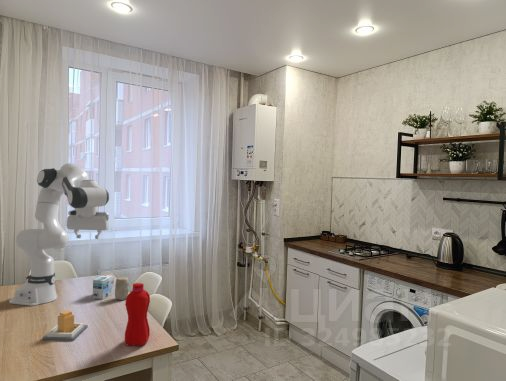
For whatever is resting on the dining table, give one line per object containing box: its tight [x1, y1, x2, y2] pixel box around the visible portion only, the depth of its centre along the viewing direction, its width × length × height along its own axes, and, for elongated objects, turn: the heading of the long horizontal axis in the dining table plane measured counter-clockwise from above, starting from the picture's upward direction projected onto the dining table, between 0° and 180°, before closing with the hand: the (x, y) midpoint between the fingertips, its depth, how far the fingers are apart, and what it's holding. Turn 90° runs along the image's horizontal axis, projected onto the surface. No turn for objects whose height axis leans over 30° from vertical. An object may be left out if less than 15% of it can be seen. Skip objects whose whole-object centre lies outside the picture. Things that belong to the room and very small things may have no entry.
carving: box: [114, 276, 130, 301], centre depth 194 cm, size 6×8×12 cm
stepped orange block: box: [57, 309, 75, 333], centre depth 151 cm, size 5×5×9 cm
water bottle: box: [124, 282, 151, 347], centre depth 146 cm, size 9×11×25 cm
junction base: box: [41, 322, 88, 342], centre depth 151 cm, size 13×13×2 cm
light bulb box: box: [92, 274, 115, 300], centre depth 197 cm, size 11×7×11 cm, turn 168°
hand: (87, 238), depth 176 cm, fingers open, 8 cm apart
